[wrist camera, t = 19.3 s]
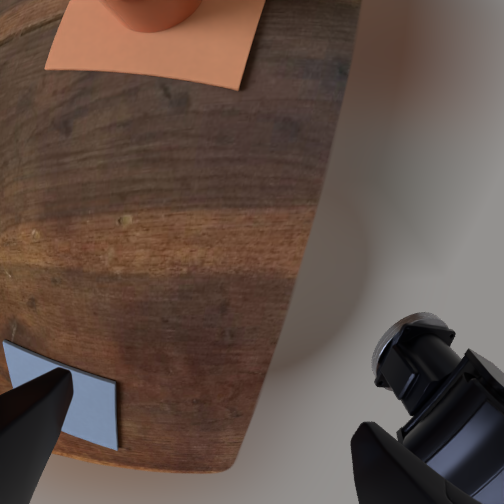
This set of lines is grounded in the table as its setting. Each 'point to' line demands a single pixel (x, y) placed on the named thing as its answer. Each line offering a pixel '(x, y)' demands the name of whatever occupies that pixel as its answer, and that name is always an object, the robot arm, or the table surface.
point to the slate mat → (84, 398)
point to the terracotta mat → (160, 43)
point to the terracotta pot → (150, 13)
